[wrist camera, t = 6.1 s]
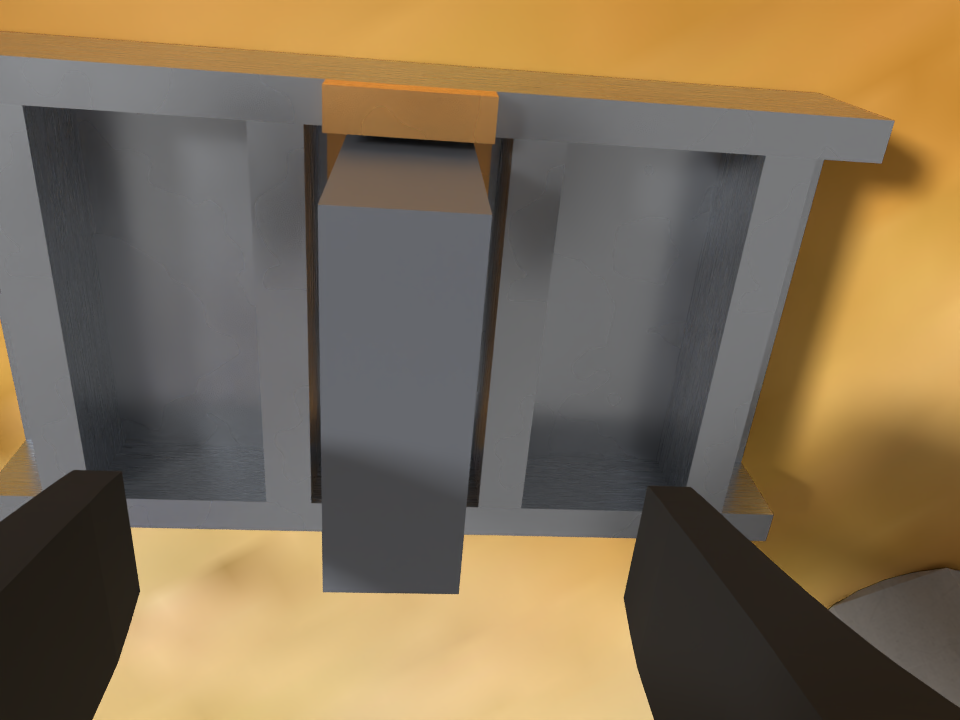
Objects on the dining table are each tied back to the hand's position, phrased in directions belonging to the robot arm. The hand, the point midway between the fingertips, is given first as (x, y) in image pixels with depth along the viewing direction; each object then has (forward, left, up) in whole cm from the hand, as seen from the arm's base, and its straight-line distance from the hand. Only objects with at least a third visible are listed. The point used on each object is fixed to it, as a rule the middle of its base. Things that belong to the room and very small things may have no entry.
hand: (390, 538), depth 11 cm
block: (0, 0, -8) cm, 8 cm away
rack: (0, 0, -9) cm, 9 cm away
